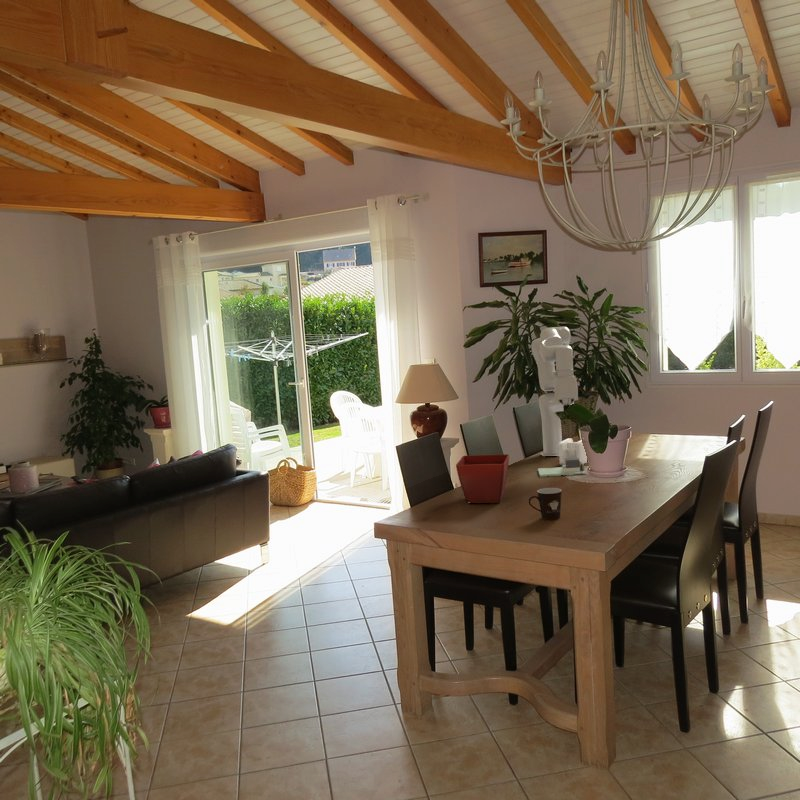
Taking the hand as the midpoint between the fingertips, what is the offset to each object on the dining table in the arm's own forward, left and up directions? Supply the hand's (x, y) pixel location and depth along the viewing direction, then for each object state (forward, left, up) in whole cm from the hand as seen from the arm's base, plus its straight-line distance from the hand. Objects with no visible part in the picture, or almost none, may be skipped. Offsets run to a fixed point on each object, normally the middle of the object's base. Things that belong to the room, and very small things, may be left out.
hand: (567, 413), depth 350 cm
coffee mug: (+80, -17, -27) cm, 86 cm away
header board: (+4, -5, -26) cm, 27 cm away
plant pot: (+49, -39, -27) cm, 68 cm away
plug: (+5, +1, -25) cm, 26 cm away
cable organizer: (-14, +3, -27) cm, 30 cm away
